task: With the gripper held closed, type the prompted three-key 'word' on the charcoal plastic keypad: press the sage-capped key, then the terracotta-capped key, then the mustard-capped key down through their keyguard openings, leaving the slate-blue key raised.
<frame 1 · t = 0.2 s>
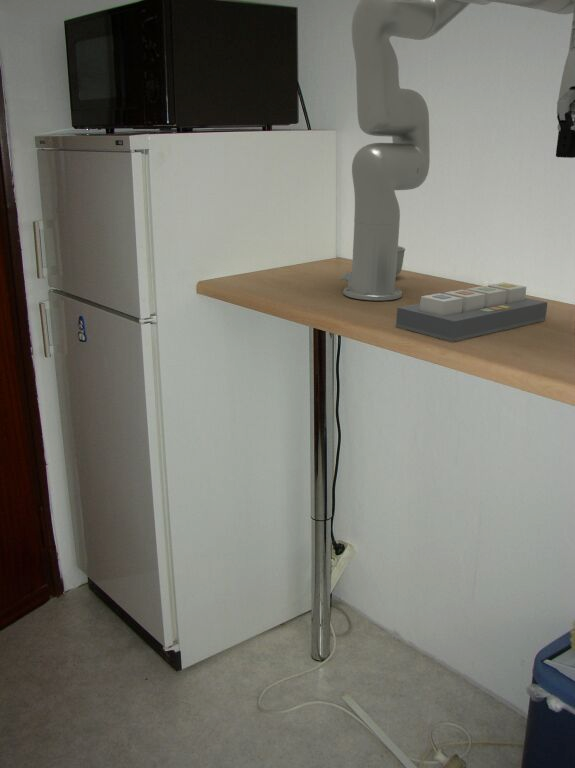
key sage: (485, 297, 144), point 5 cm above the table, slide at 0.0 cm
key slate: (441, 305, 136), point 5 cm above the table, slide at 0.0 cm
teacup: (377, 279, 186), on the table
keypad base: (472, 323, 143), on the table
key terracotta: (464, 301, 140), point 5 cm above the table, slide at 0.0 cm
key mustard: (506, 293, 148), point 5 cm above the table, slide at 0.0 cm
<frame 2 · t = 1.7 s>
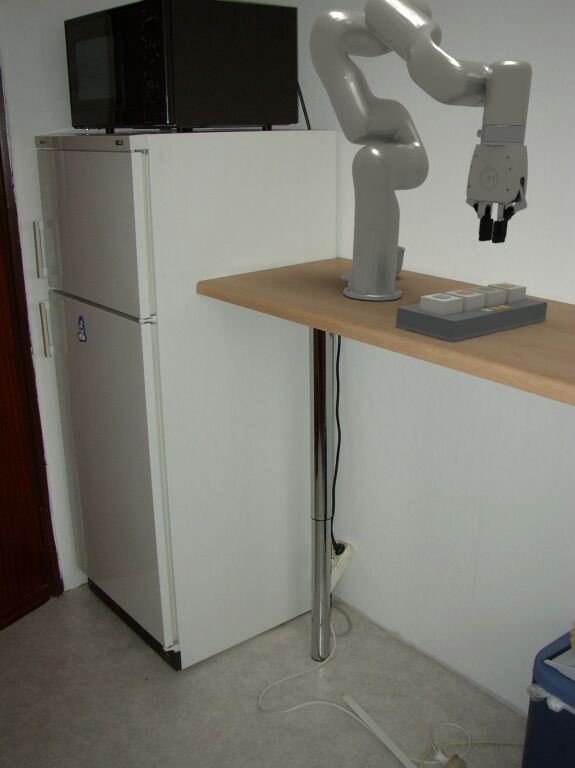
hand: (491, 240, 140), 15 cm above the table, fingers closed
nothing on the table moved.
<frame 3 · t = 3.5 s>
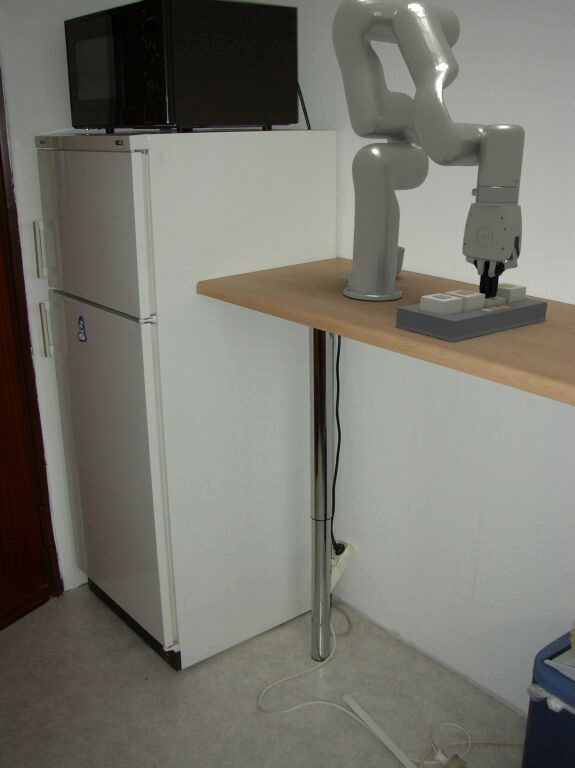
hand: (487, 296, 143), 5 cm above the table, fingers closed
key sage: (484, 304, 144), point 3 cm above the table, slide at 1.5 cm
everything else where it was.
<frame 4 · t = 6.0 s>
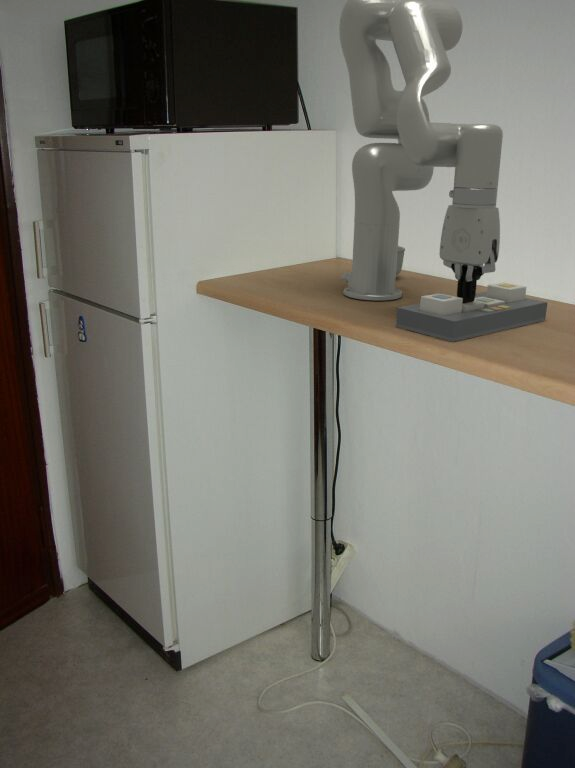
hand: (465, 301, 139), 5 cm above the table, fingers closed
key sage: (484, 307, 144), point 3 cm above the table, slide at 2.1 cm
key terracotta: (463, 309, 140), point 3 cm above the table, slide at 1.6 cm, touching gripper
everything else where it was.
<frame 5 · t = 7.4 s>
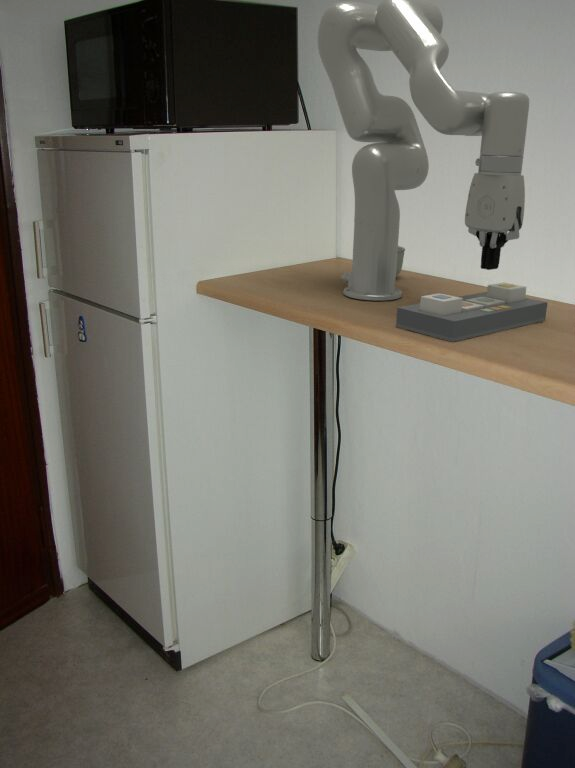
hand: (489, 268, 142), 10 cm above the table, fingers closed
key terracotta: (462, 312, 140), point 3 cm above the table, slide at 2.1 cm
everything else where it was.
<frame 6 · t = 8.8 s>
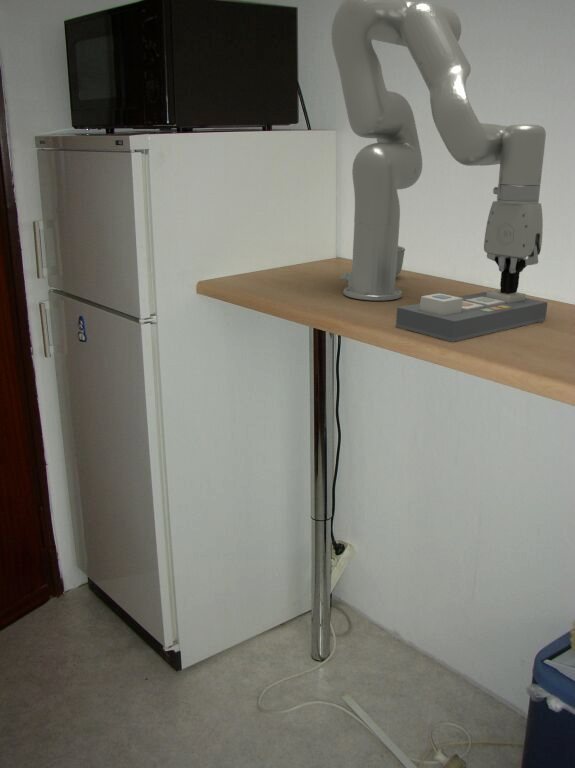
hand: (508, 292, 147), 5 cm above the table, fingers closed
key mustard: (505, 300, 148), point 3 cm above the table, slide at 1.4 cm, touching gripper
everything else where it was.
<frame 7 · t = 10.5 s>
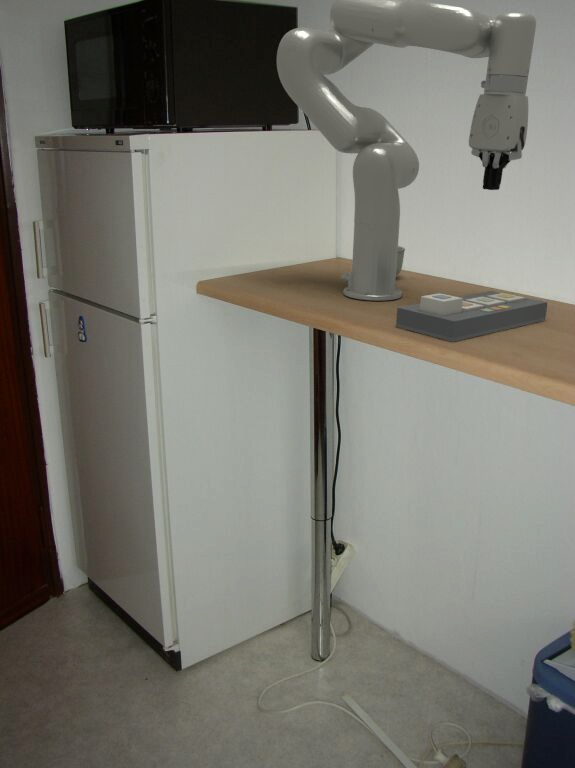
hand: (490, 189, 147), 24 cm above the table, fingers closed
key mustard: (505, 303, 148), point 3 cm above the table, slide at 2.1 cm
everything else where it was.
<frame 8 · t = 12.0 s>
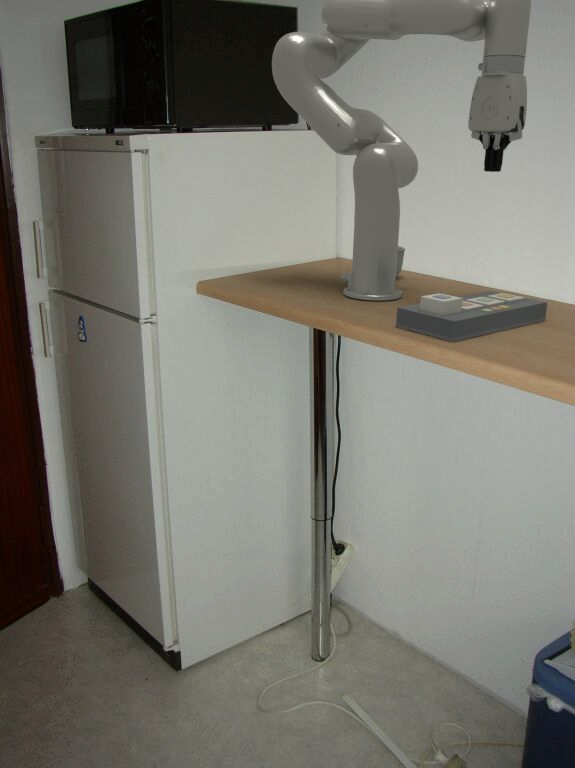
hand: (492, 171, 146), 27 cm above the table, fingers closed
nothing on the table moved.
at the end: key sage slide at 2.1 cm; key terracotta slide at 2.1 cm; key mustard slide at 2.1 cm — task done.
